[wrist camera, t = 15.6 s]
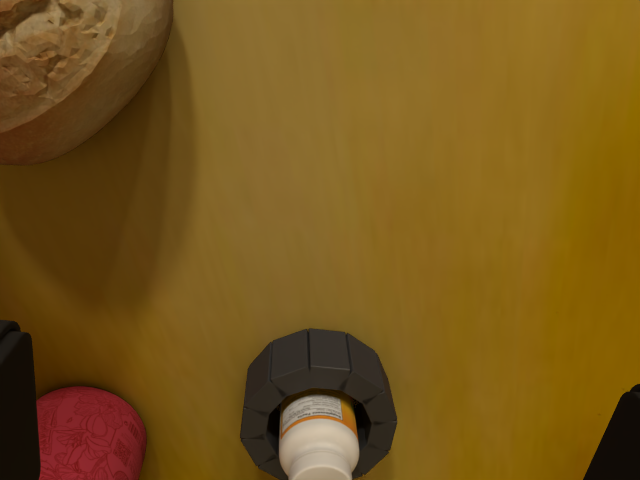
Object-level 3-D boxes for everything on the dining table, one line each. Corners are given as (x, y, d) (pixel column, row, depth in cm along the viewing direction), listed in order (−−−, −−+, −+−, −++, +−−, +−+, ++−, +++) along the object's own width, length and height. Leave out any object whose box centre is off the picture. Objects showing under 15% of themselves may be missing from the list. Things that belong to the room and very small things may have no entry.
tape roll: (240, 435, 46) (234, 480, 42) (253, 322, 41) (249, 359, 37) (372, 446, 47) (379, 491, 43) (398, 337, 42) (410, 375, 38)
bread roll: (-84, 68, 33) (-189, 93, 26) (82, -132, 30) (13, -167, 22) (52, 184, 36) (-8, 235, 29) (217, 17, 33) (195, 28, 26)
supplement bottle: (343, 418, 46) (355, 524, 37) (276, 411, 45) (271, 517, 36) (356, 363, 43) (372, 462, 34) (286, 355, 43) (283, 453, 34)
